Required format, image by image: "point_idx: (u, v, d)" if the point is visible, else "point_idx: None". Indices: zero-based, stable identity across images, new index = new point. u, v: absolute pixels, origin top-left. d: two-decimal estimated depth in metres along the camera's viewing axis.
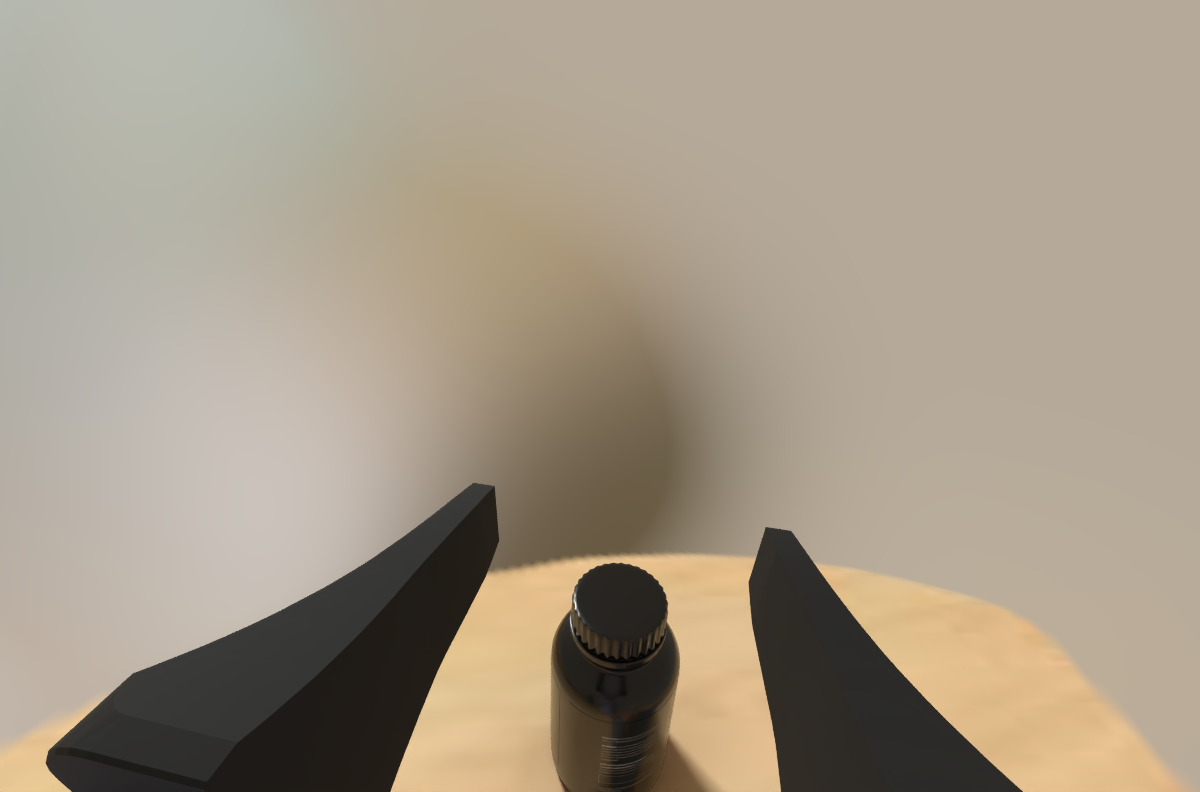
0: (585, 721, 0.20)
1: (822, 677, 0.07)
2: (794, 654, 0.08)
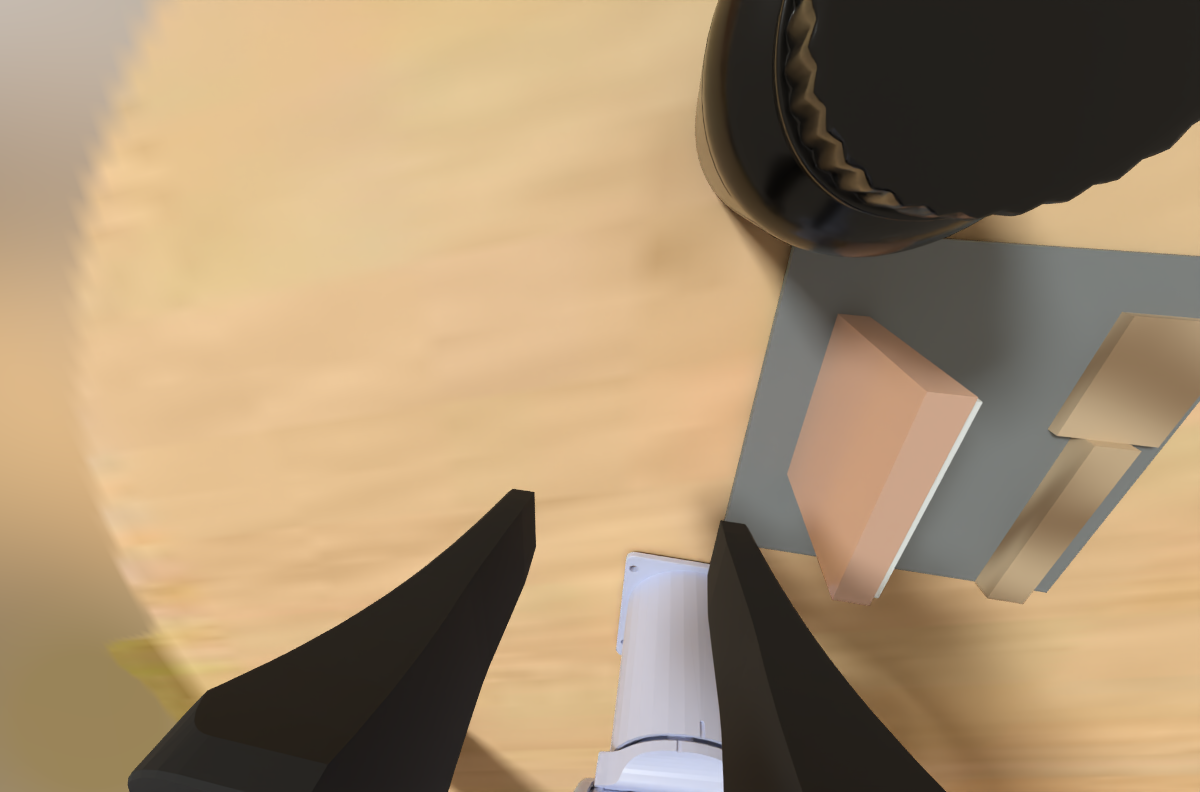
0: (786, 242, 0.10)
1: (754, 664, 0.07)
2: (736, 643, 0.08)
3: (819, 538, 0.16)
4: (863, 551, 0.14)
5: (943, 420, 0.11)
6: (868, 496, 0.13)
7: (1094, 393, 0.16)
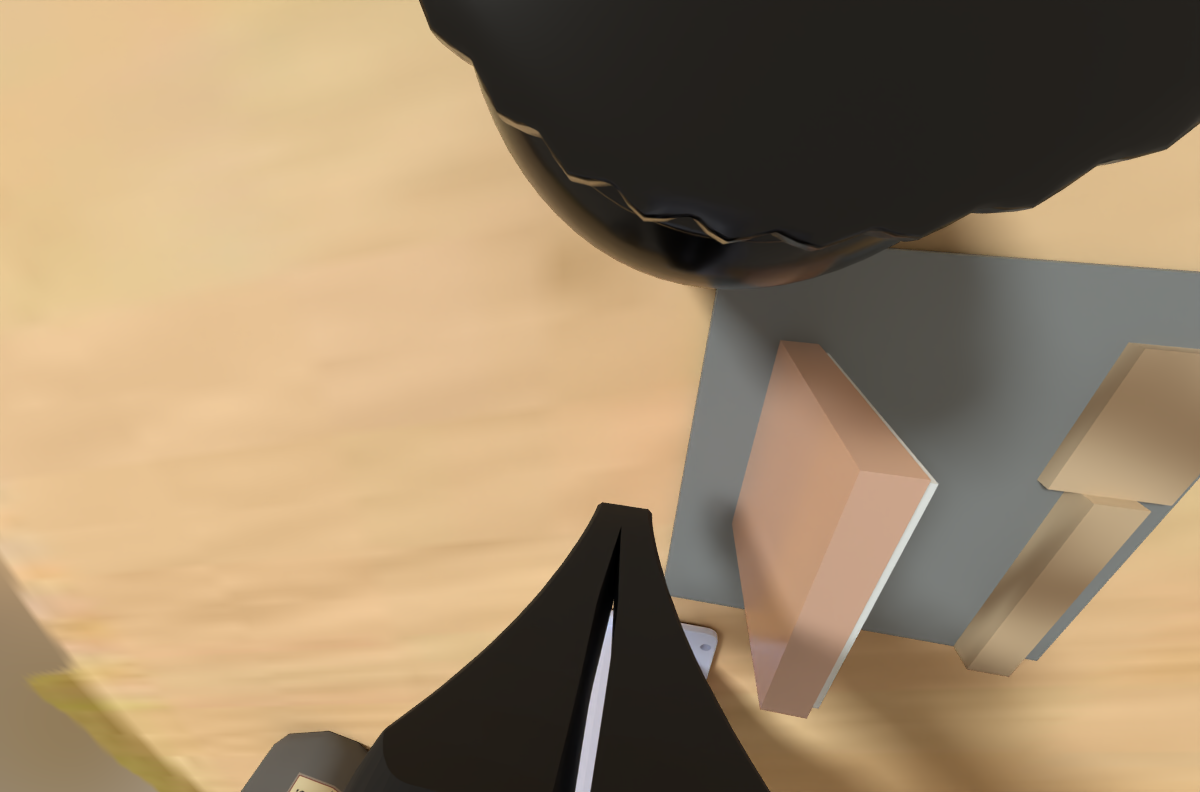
0: None
1: None
2: (615, 621, 0.09)
3: (753, 620, 0.13)
4: (793, 658, 0.10)
5: (885, 507, 0.08)
6: (797, 590, 0.10)
7: (1094, 441, 0.13)
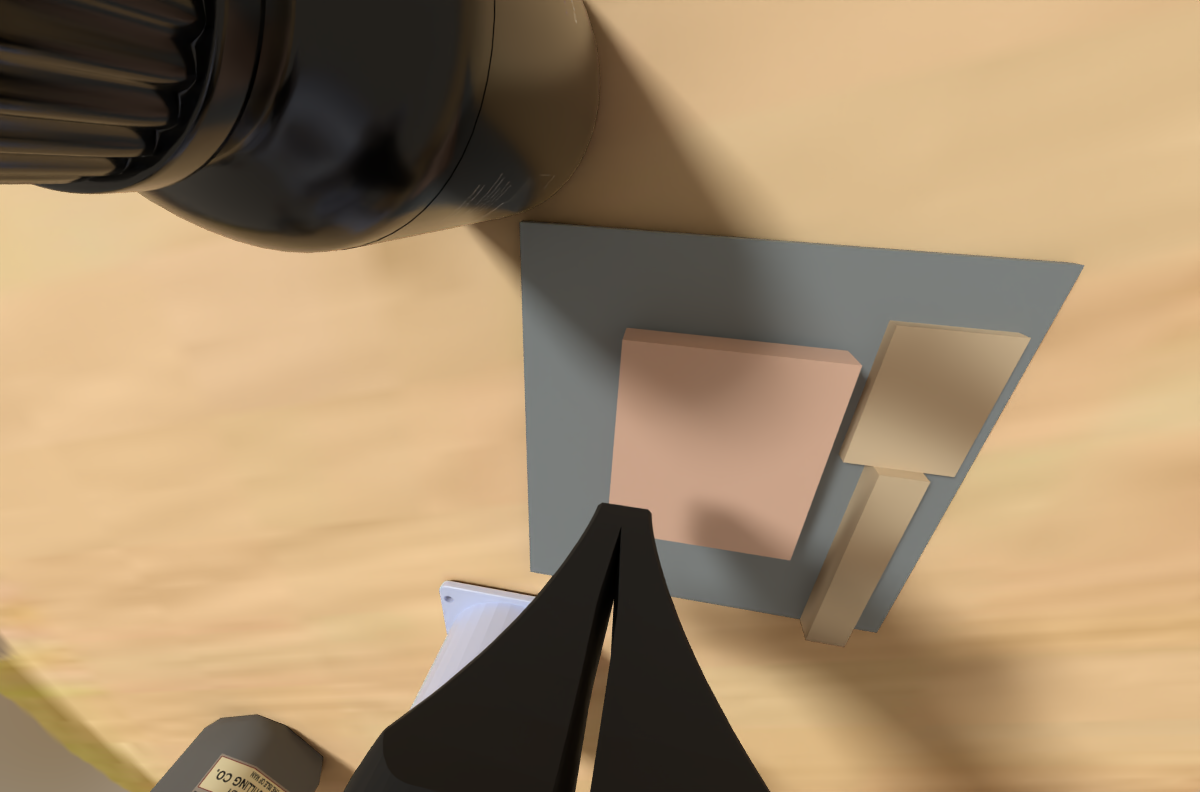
0: None
1: None
2: (615, 621, 0.09)
3: (734, 538, 0.16)
4: None
5: None
6: (808, 470, 0.14)
7: (872, 415, 0.14)
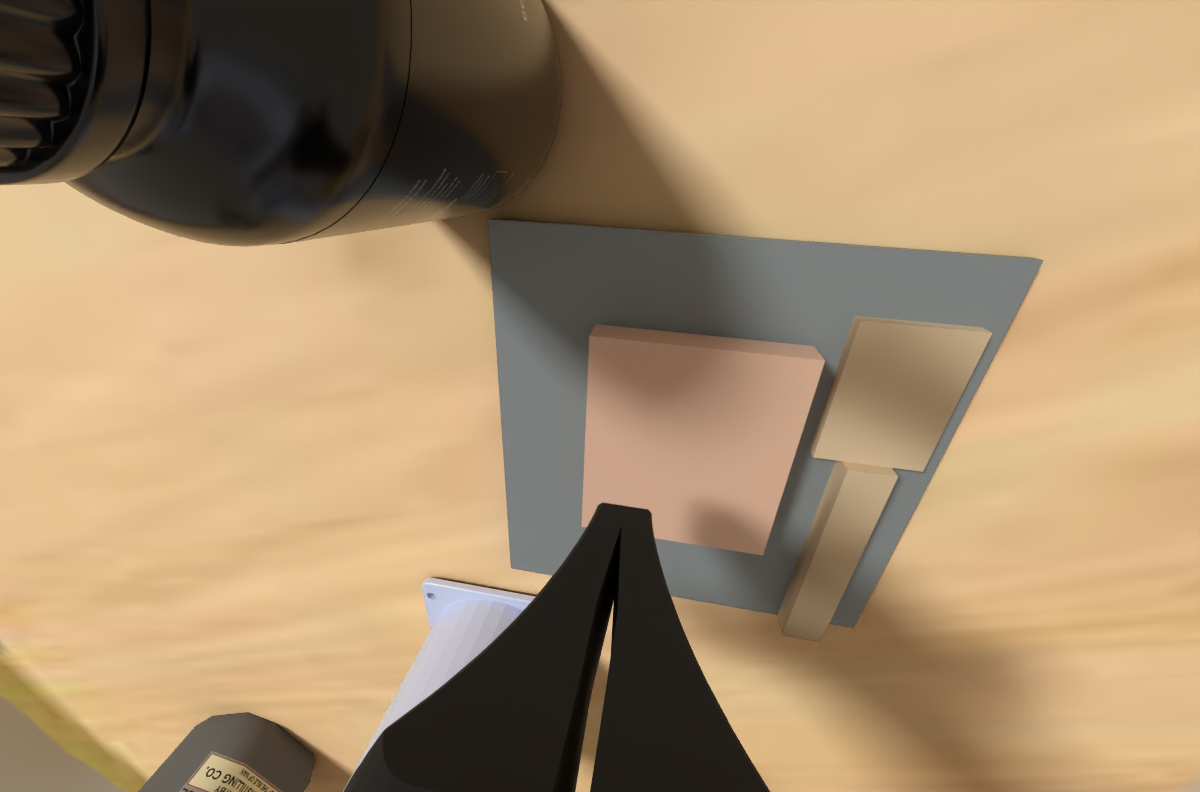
0: None
1: None
2: (615, 621, 0.09)
3: (707, 533, 0.16)
4: None
5: None
6: (776, 465, 0.14)
7: (840, 410, 0.14)
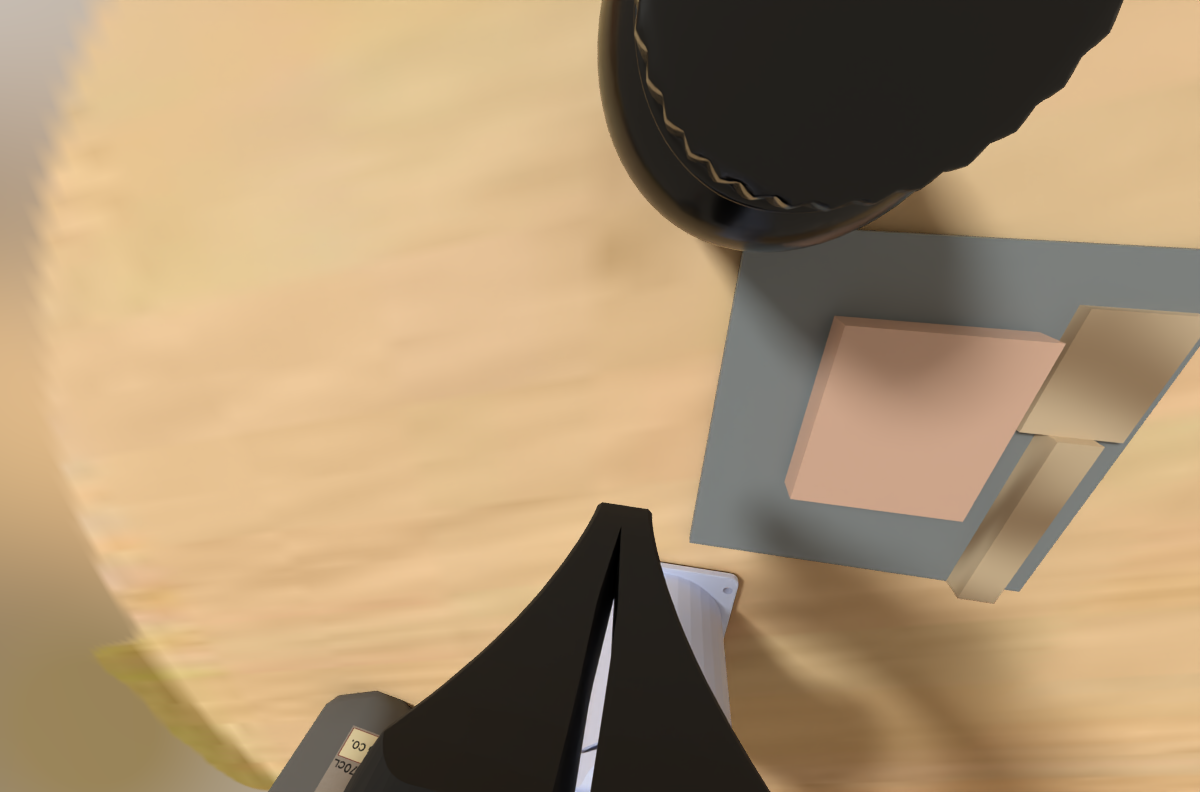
0: None
1: None
2: (615, 621, 0.09)
3: (913, 502, 0.18)
4: None
5: None
6: (996, 438, 0.16)
7: (1055, 389, 0.16)
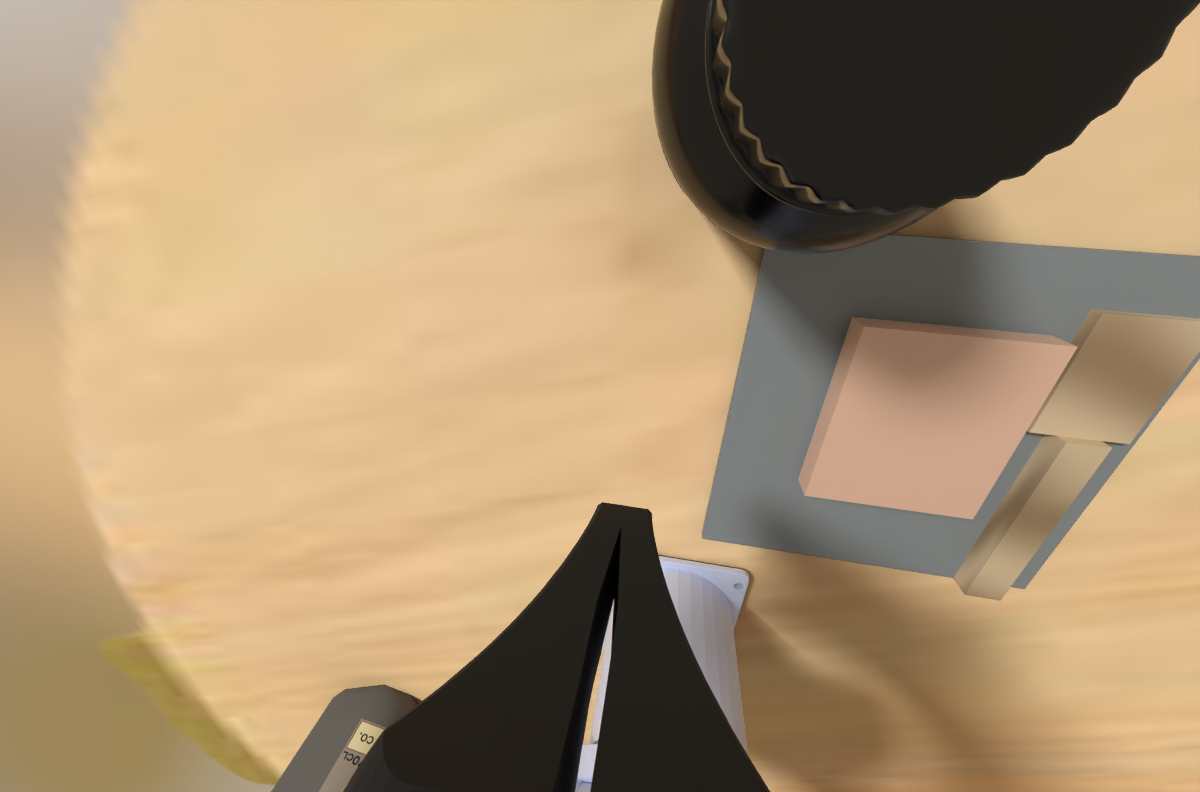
0: None
1: None
2: (615, 621, 0.09)
3: (924, 500, 0.19)
4: None
5: None
6: (1008, 438, 0.17)
7: (1065, 390, 0.17)
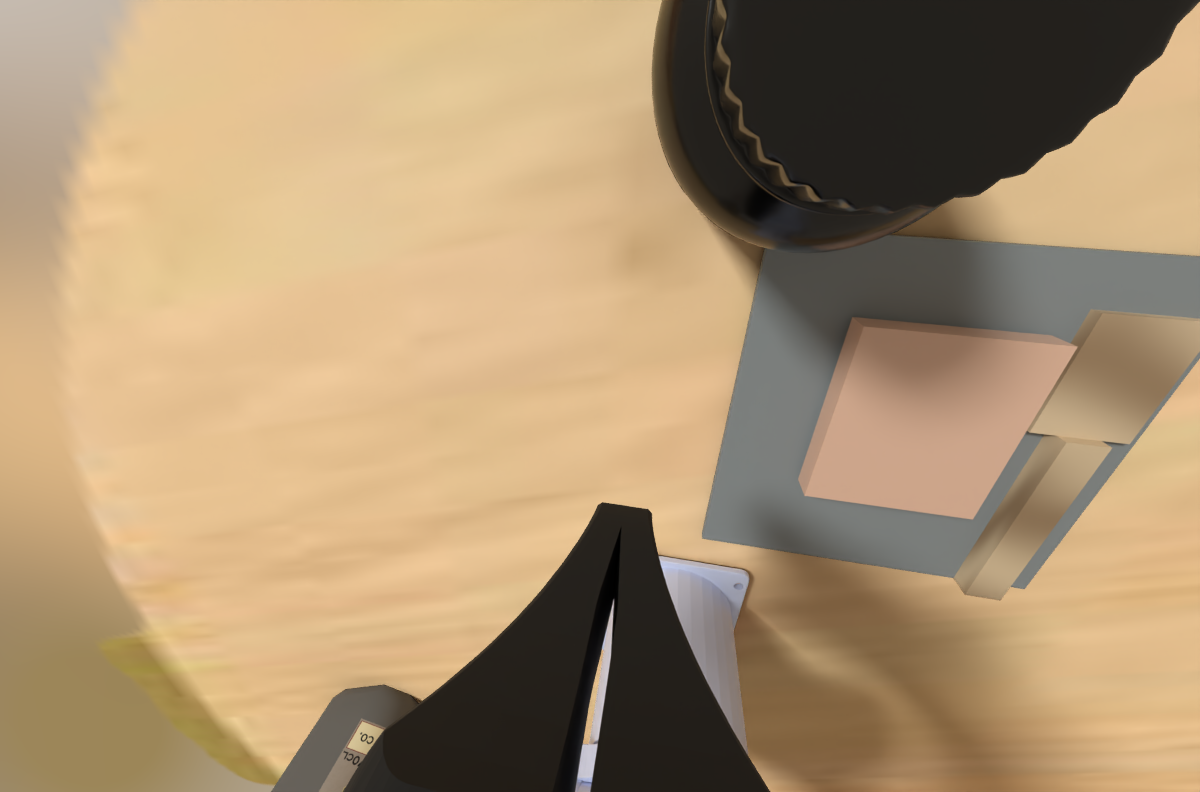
0: None
1: None
2: (615, 621, 0.09)
3: (924, 500, 0.19)
4: None
5: None
6: (1008, 438, 0.17)
7: (1065, 390, 0.17)
